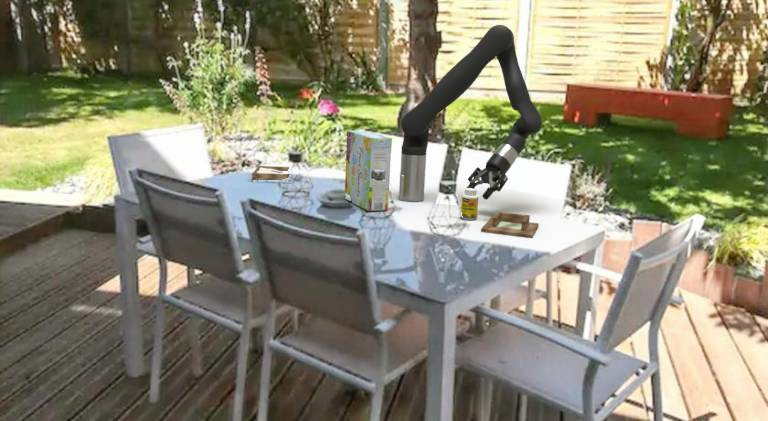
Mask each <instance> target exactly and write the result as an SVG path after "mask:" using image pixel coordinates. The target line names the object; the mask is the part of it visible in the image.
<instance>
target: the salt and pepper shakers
mask: <svg viewBox="0 0 768 421" xmlns="http://www.w3.org/2000/svg"><path fill="white" fill-rule="evenodd" d="M257 173H271V174H281V173H283V172H282V171H278V170H274V169H267V168H261V167H260V169H259V171H257Z"/></svg>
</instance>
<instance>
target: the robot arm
mask: <svg viewBox="0 0 768 421" xmlns="http://www.w3.org/2000/svg"><path fill="white" fill-rule="evenodd" d="M515 44H516V43H515V35H514V33H513V31H512V30H511V29H510V28H509V27H508V26H506V25H505V24H504V25H503V24H496V25H494V26H492V27H490V28H489V29H488V31H487V32H486V33H485V34H484V35H483V36H482V37H481V39H480V40H479V41H478V43H477V44H476V45H475V46H474V47H473V48H472V50H470V51H469V53H467V54H466V55H465V56H464V57H462V58H461V59H460V60H459V61H458V62H457V63H456V64H455V65H454V66H453V67H452V68H450V69H449V70H448V71H447V73H445V75H443V77H442V78H440V80H439V81H438V82H437V83H436V84H435V85H434V87H433V88H432V89H431V90H430V92H429V93H428V94H427V96H425V97H424V99H423V100H421V101H420V102H419V103H418V104H417V105H416V106H414V107H413V108H412V109H411V110H409V111H408V112H406V113H405V115H404V116H403V117H402V119H401V122H400V123H401V124H400V125H401V126H400V127H401V129H402V131H403V140H402V144H401V154H400V172H399V173H400V174H399V188H398V189H399V192H398V199H399V201H405V202H422V201H424V200H423V199H425V183H426V182H425V181H426V180H425V179H426V165H427V164H426V163H427V149H428V144H429V131H430V125H431V124H430V123H432V121H433V120H434V119H435V118H436V117H437V116H438V115H439V114H440V113H441V112H442V111H443V110H445V109H446V108H448V107H449V106H450V105H451V104H453V103H454V102H455V101H456V100H458V99H459V98H460V97H461V96H462V95H463V94H464V93H466V92H467V90H468V89H469V88H470V87H471V86H472V85H473V84H474V82H475V81H476V80H477V79H478V77H479V76H480V75H481V73H482V71H483V70H484V69H485V67H486V66H487V65H489V63H490V62H492V61H493V60H494V59H495V58H497V62H498V63H499V66H500V69H501V73H502V76H503V77H502V78H503V82H504V86H505V90H506V94H507V97H508V100H509V102H510V105H511V108H512V110H514V111H517V112H518V113H519V115H520V117H519V118H517V120H516V121H515V122H514V123H513V125H512V127H511V129H510V130H509V133H508V135H507V137H505V139H504V140H503V141H502V143H501V144H500V145H499V146H498V147H497V148H496V150H495V151H494V152H493V154H491V156H490V158H488V160H487V161H486V163H485V167H484V168H483V169H481V168H480V167H479V166H478V167H476V168H475V169H474V171H473V172H472V173H471V175H470V176H469V177H468V178H467V181H468V182H469V184H468V185H467V187H466V188H473V189H476V187H477V186H479V185H483V184H488V185H489V187H487V188H486V190H485V191H484V193H483V194H482V198H483V199H484V200H486V201H487V200H488V199H489V198H490V197H491V196H492V194H493V193H495V192H500V191H501V190H503V187H505V185H506V183H507V182H508V180H509V178H508V176H507V175H506V174H507V173H508V171H509V170H510V169H511V167H512V165H514V163H515V162H516V159H517V158H518V157H519V155H520V154H521V152H522V151H523V150H524V149H525V146H526V140H527V138H529V136H531V135H534V134H535V135H536V134H537V133H539V132H540V131H541V129H542V126H543V120H542V116H541V114H540V113H539V111H538V109H537V107H536V106H535V104H534V103H533V102H532V99H531V96H530V92H529V90H528V88H527V83H526V81H525V78H524V75H523V72H522V71H521V68H520V64H519V61H518V58H517V56H518V55H517V52H516V46H515ZM421 200H422V201H421Z"/></svg>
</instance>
